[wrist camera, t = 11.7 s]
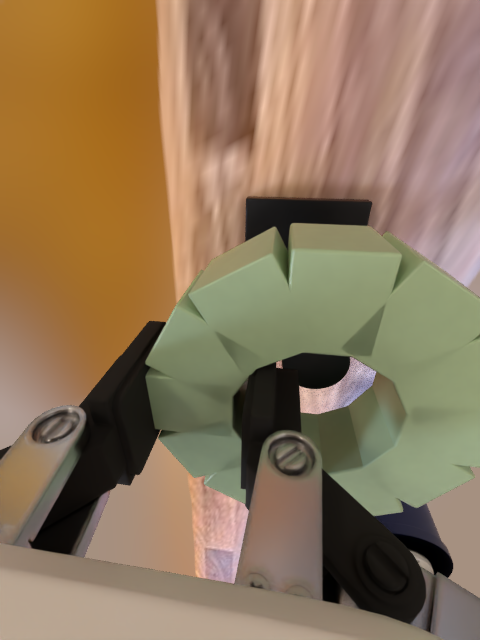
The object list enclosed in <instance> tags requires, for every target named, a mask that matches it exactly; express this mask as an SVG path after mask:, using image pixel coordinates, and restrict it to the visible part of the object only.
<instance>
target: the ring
mask: <svg viewBox="0 0 480 640" xmlns="http://www.w3.org/2000/svg"><path fill="white" fill-rule="evenodd" d="M300 353H313V354H325V355H336V356H348V357H353V358H355V359H357V360H358V361H360V362H361V363H363V364H365V365H366V366H368V367H370V368H371V369H373V370H375V371H376V375H375V379H374V382H373V385H372V386H371V387H370V388H369V389H367V390H366V391H365V392H364V393H363V394H362V395H360V396H359V397H358V398H357V399H356V400H354V401H353V402H352V403H351V404H350V405H349V406H346V407H343V408H339V409H336V410H332V411H328V412H325V413H321V414H309V413H301V431H302V433H303V434H304V435H306V436H308V437H309V438H311V439H312V440H313V441H314V442H315V444H316V445H317V447H318V448H319V450H320V452H321V457H322V469H323V470H324V471H325V472H326V473H328V474H329V475H330V476H331V477H332V478H333V479H334V480H335V481H336V482H337V483H338V484H339V485H340V486H342V487H343V488H344V489H345V490H346V491H347V492H348V493H349V494H350V495H351V496H352V497H353V498H355V499H356V500H357V501H358V502H359V503H360V504H361V505H362V506H363V507H364V508H365V509H366V510H367V511H369V512H370V513H371V514H372V515H373V516H378V515H385V514H392V513H399V512H403V507H402V504H401V501H400V500H402V501H404V502H405V503H407V504H409V505H411V506H413V507H415V508H418V507H420V506H422V505H424V504H426V503H428V502H429V501H431V500H433V499H435V498H437V497H439V496H441V495H442V494H445V493H447V492H448V491H450V490H452V489H454V488H456V487H458V486H460V485H462V484H464V483H466V482H467V481H470V480H471V479H473V478H475V475H474V474H473V472H472V470H471V468H470V467H469V466H471V467H478V468H480V297H479V296H477V295H476V294H475V293H473V292H472V291H471V290H469V289H468V288H467V287H465V286H464V285H463V284H461V283H460V282H459V281H457V280H456V279H455V278H453V277H452V276H451V275H450V274H448V273H447V272H446V271H444V270H443V269H441V268H440V267H438V266H437V265H436V264H434V263H433V262H431V261H430V260H428V259H427V258H426V257H424V256H423V255H421V254H420V253H418V252H417V251H416V250H414V249H413V248H411V247H410V246H408V245H407V244H406V243H404V242H403V241H401V240H400V239H398V238H397V237H396V236H394V235H393V234H391V233H390V232H388V231H386V232H385V233H384V234H383V236H381V235H380V234H379V233H378V232H377V231H375V230H374V229H373V228H372V227H370V226H357V225H331V224H306V223H292V224H291V225H290V231H289V242H288V250H287V248H286V246H285V244H284V242H283V240H282V238H281V236H280V234H279V232H278V230H277V228H276V227H273V228H271V229H269V230H267V231H265V232H263V233H261V234H259V235H257V236H255V237H254V238H252V239H250V240H248V241H246V242H244V243H242V244H240V245H238V246H236V247H235V248H233V249H231V250H229V251H227V252H225V253H223V254H221V255H219V256H217V257H216V258H214V259H212V260H211V261H210V263H209V264H208V266H207V267H206V269H205V270H201V271H200V272H199V274H198V275H197V276H196V278H195V279H194V281H193V282H192V283H191V285H190V286H189V288H188V289H187V291H186V292H185V293H184V295H183V296H182V298H181V299H180V300H179V302H178V303H177V305H176V306H175V308H174V310H173V312H172V313H171V315H170V317H169V319H168V321H167V323H166V324H165V326H164V328H163V330H162V332H161V334H160V335H159V337H158V339H157V341H156V343H155V345H154V346H153V348H152V350H151V352H150V354H149V356H148V357H147V359H146V361H145V364H146V365H148V366H150V369H149V370H148V372H147V374H146V383H147V388H148V394H149V399H150V404H151V410H152V415H153V420H154V426H155V429H159V430H161V433H160V435H159V437H158V438H159V440H160V441H161V442H162V443H163V444H164V445H165V446H166V447H167V449H168V450H169V451H170V452H171V453H172V454H173V455H174V456H175V457H176V459H178V461H179V462H180V463H181V464H182V465H183V466H184V467H185V468H186V470H187V471H188V472H189V473H190V474H191V475H192V476H193V477H194V478H196V477H201V476H205V475H206V476H205V480H204V484H205V485H206V486H208V487H210V488H212V489H215V490H217V491H219V492H221V493H223V494H225V495H227V496H229V497H231V498H233V499H235V500H238V501H240V502H242V503H244V504H245V501H246V489H241V441H242V415H243V407H244V401H245V395H246V389H247V383H248V377H249V375H252V374H253V372H254V371H255V370H256V369H258V368H261V367H264V366H266V365H269V364H272V363H275V362H278V361H281V360H283V359H286V358H289V357H292V356H295V355H297V354H300Z"/></svg>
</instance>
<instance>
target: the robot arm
mask: <svg viewBox="0 0 480 640" xmlns="http://www.w3.org/2000/svg"><path fill="white" fill-rule="evenodd" d="M165 324H166V322H158V321H149V322H148V323H147V324H146V326H145V327H144V328H143V330H142V331H141V332H140V333H139V335H138V336H137V337H136V338H135V339H134V341H133V342H132V343H131V344H130V346H129V347H128V348H127V349H126V350H125V352H124V353H123V354H122V355H121V356H120V357H119V358H118V359H117V360H116V361H115V363H114V364H113V365H112V366H111V367H110V369H109V370H108V371H107V372H106V374H105V375H104V376H103V377H102V378H101V380H100V381H99V382H98V384H97V385H96V386H95V387H94V388H93V390H92V391H91V392H90V393H89V395H88V396H87V397H86V398H85V400H84V401H83V402H82V403H81V404H80V406H79V407H77V406H72V405H67V406H60V407H56V408H53V409H51V410H48V411H46V412H44V413H43V414H41V415H40V416H38V417H37V418H35V419H34V420H33V421H32V422H31V424H30V425H28V427H27V428H26V429H25V430H24V432H23V433H22V434H21V435H20V437H19V438H18V439H17V440H16V442H15V443H14V444H13V445H12V446H9V447H7V448H5V449H2V450H0V640H480V598H478V597H477V596H475V595H473V594H472V593H470V592H469V591H467V590H466V589H464V588H462V587H461V586H459V585H457V584H456V583H454V582H453V581H451V580H450V579H448V578H447V577H445V576H443V575H442V574H440V573H439V572H437V574H436V575H434V571H433V569H432V566H431V563H430V562H429V560H428V559H427V558H426V557H425V556H423V555H422V554H420V553H418V552H417V551H414V550H412V549H409V548H407V547H406V546H405V545H404V544H403V543H402V542H401V541H400V540H399V539H398V538H397V537H396V536H394V535H393V534H392V533H391V532H390V531H389V530H388V529H387V528H386V527H385V526H384V525H383V524H381V523H380V522H379V521H378V520H377V519H376V518H375V517H374V516H373V515H372V514H371V513H370V512H369V511H367V510H366V509H365V508H364V507H363V506H362V505H361V504H360V503H359V502H358V501H357V500H356V499H355V498H353V497H352V496H351V495H350V494H349V493H348V492H347V491H346V490H345V489H344V488H343V487H342V486H340V485H339V484H338V483H337V482H336V481H335V480H334V479H333V478H332V477H331V476H330V475H329V474H328V473H326V472H325V471H324V470H323V469H322V457H321V452H320V450H319V448H318V447H317V445H316V444H315V442H314V441H313V440H312V439H311V438H309V437H308V436H306V435H304V434H303V433H302V431H301V413H300V394H299V376H298V370H292V369H281V368H276V362H275V363H272V364H269V365H266V366H264V367H261V368H258V369H256V370H255V371H254V372H253V374H252V375H249V377H248V383H247V389H246V395H245V401H244V407H243V415H242V441H241V489H246V501H245V506H246V507H247V509H248V510H249V514H248V519H247V524H246V529H245V534H244V539H243V544H242V549H241V554H240V559H239V563H238V568H237V573H236V578H235V583H234V584H232V583H226V582H220V581H215V580H209V579H204V578H198V577H192V576H186V575H181V574H175V573H170V572H164V571H158V570H153V569H147V568H141V567H136V566H130V565H123V564H118V563H111V562H106V561H101V560H95V559H89V558H84V557H85V554H86V552H87V549H88V546H89V544H90V542H91V539H92V537H93V535H94V532H95V530H96V527H97V525H98V522H99V520H100V518H101V515H102V513H103V510H104V507H105V505H106V503H107V501H108V498H109V494H110V490H111V489H113V488H115V487H116V485H117V484H123V485H131V483H132V480H133V479H134V476H135V475H139V474H140V473H141V472H142V470H143V468H144V466H145V463H146V461H147V459H148V457H149V454H150V452H151V450H152V448H153V445H154V443H155V441H156V439H157V437H158V434H159V432H160V430H159V429H155V426H154V420H153V415H152V410H151V404H150V399H149V394H148V388H147V383H146V374H147V372H148V370H149V369H150V366H148V365H146V364H145V361H146V359H147V357H148V356H149V354H150V352H151V350H152V348H153V346H154V345H155V343H156V341H157V339H158V337H159V335H160V334H161V332H162V330H163V328H164V326H165Z"/></svg>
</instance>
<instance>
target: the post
mask: <svg viewBox="0 0 480 640" xmlns="http://www.w3.org/2000/svg"><path fill="white" fill-rule="evenodd" d="M371 206H372V202H371V201H369V200H354V199H319V198H285V197H251V196H249V197H247V199H246V232H245V242H246V241H248V240H250V239H252V238H254V237H255V236H257V235H259V234H261V233H263V232H265V231H267V230H269V229H271V228H273V227H276V228H277V230H278V232H279V234H280V236H281V238H282V240H283V242H284V244H285V246H286V248H287V250H288V242H289V231H290V225H291V224H292V223H306V224H331V225H357V226H367V225H368V220H369V215H370V211H371ZM349 366H350V357H348V356H336V355H325V354H313V353H300V354H297V355H295V356H292V357H289V358H286V359H283V360H282V367H283V369H292V370H298V376H299V386H302V387H305V388H310V389H321V388H326V387H329V386H332V385H334V384H336V383H338V382H339V381H340V380H341V379H342V378H343V377H344V376H345V375H346V373H347V371H348V369H349Z"/></svg>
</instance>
